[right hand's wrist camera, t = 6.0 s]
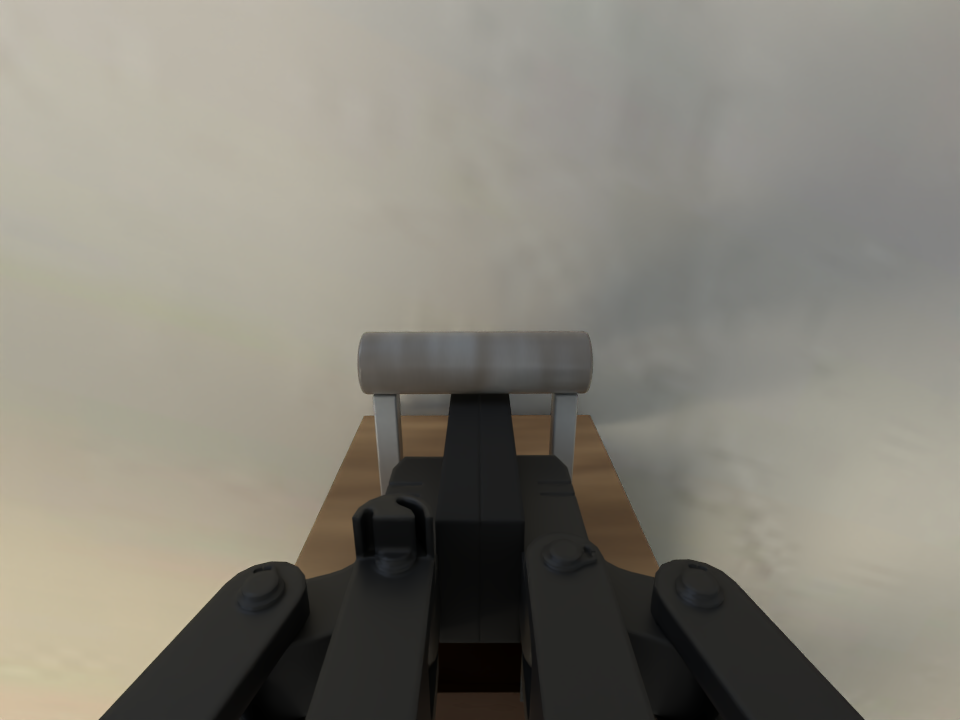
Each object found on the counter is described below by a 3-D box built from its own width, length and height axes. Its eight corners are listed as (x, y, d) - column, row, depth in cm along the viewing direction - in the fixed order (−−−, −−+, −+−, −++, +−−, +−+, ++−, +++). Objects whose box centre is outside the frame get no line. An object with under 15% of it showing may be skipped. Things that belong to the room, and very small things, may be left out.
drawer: (350, 276, 19) (235, 372, 10) (601, 275, 19) (713, 370, 10) (387, 671, 27) (338, 936, 17) (569, 670, 27) (617, 934, 17)
